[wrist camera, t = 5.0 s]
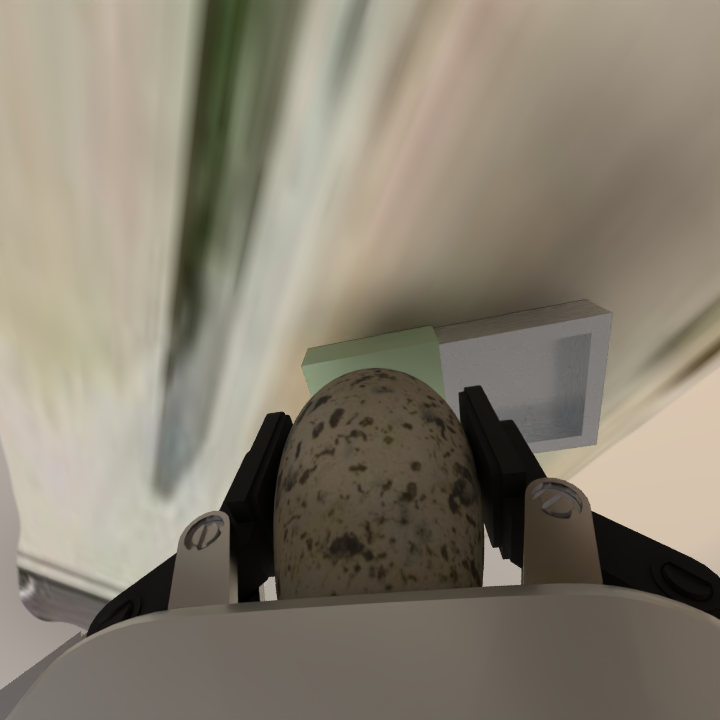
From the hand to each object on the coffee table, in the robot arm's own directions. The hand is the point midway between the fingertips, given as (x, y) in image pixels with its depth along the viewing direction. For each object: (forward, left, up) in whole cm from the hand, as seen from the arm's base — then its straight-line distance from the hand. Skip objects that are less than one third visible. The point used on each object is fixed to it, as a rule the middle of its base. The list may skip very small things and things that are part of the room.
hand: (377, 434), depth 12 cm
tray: (-10, +9, -15) cm, 20 cm away
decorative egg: (0, 0, -2) cm, 2 cm away
